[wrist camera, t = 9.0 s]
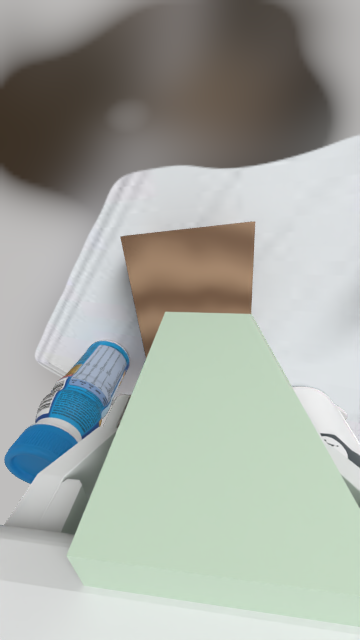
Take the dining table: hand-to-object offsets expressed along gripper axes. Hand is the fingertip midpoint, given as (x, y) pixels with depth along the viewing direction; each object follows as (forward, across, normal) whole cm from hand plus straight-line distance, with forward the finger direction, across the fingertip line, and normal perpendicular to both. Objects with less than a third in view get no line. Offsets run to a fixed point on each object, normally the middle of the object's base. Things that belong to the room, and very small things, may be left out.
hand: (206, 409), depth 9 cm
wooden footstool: (+25, +1, +1) cm, 25 cm away
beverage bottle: (+25, +17, +16) cm, 34 cm away
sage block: (+4, 0, 0) cm, 4 cm away
